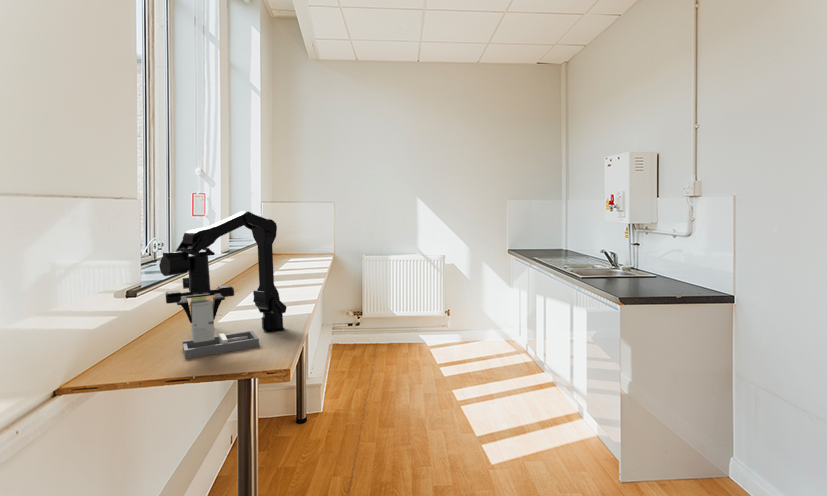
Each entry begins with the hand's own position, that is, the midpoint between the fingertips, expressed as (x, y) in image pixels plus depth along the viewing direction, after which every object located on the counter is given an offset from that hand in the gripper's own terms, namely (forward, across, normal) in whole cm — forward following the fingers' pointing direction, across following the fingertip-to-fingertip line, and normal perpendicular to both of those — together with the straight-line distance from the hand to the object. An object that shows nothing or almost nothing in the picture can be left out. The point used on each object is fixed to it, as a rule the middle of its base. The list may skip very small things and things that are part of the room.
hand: (202, 321), depth 139 cm
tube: (+10, -2, -34) cm, 35 cm away
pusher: (+9, -9, 0) cm, 12 cm away
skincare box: (+6, 0, 0) cm, 6 cm away
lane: (+9, -5, 0) cm, 10 cm away
